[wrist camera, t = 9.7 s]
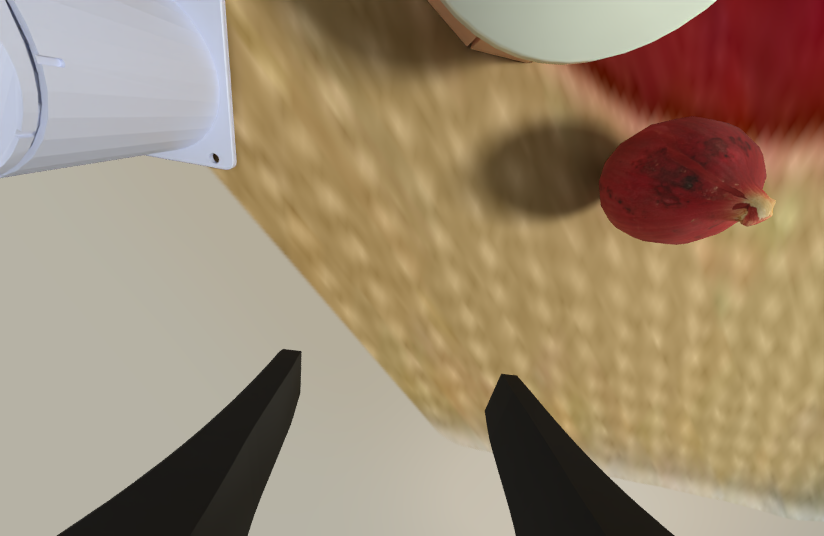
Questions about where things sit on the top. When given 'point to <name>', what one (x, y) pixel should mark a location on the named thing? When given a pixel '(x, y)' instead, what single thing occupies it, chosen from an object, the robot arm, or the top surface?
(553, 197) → the top surface
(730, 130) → the onion
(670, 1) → the lid
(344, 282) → the top surface
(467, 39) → the bowl
